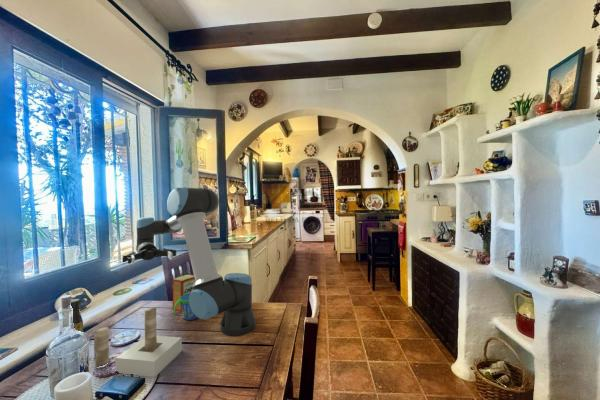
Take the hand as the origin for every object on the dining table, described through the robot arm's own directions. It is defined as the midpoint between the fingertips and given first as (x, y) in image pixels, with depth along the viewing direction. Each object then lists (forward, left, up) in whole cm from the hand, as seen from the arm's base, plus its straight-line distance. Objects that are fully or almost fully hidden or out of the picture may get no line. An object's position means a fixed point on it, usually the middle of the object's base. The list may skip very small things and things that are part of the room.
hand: (153, 258), depth 103 cm
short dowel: (+9, +15, -32) cm, 36 cm away
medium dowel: (+4, +19, -32) cm, 37 cm away
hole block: (-11, +15, -32) cm, 37 cm away
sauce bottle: (+20, +16, -32) cm, 41 cm away
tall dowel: (-11, +15, -32) cm, 37 cm away
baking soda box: (+4, -28, -32) cm, 43 cm away
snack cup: (-6, -18, -32) cm, 38 cm away
